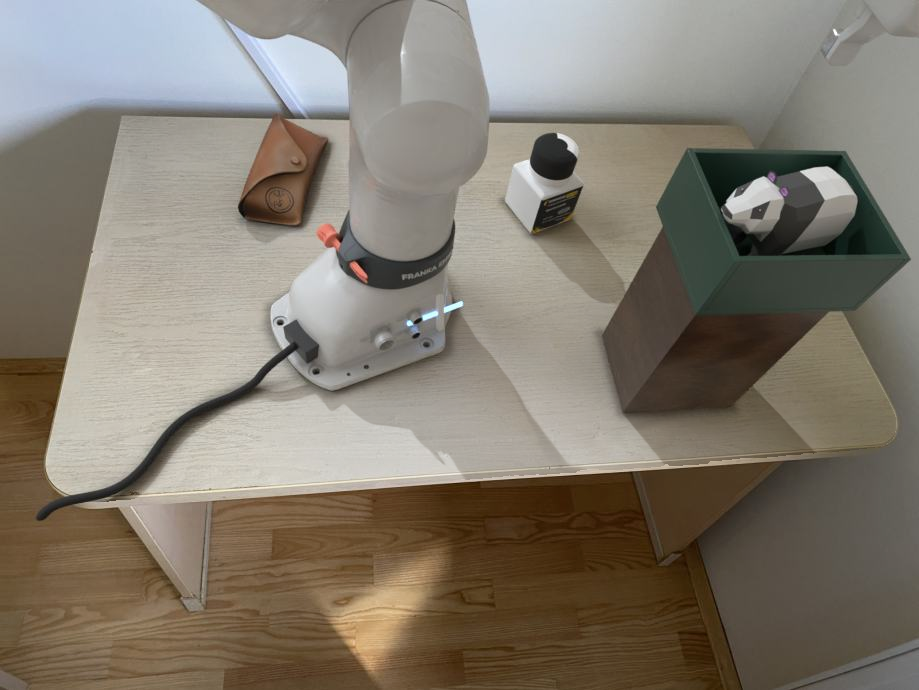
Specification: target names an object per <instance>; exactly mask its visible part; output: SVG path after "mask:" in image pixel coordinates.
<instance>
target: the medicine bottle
mask: <svg viewBox="0 0 919 690" xmlns="http://www.w3.org/2000/svg"><path fill="white" fill-rule="evenodd" d="M580 155H581V152H580V148H579V146H578V144H577V143H576V142H575V140H573V139H572V138H571V137H570V136H567V135H565V134H563V133H559V132H547V133H544V134H542V135H540V136H538V137H537V138H536V139H535V141H534V143H533V145H532V150H531V153H530V158H529V159H526V160H522V161H519V162H516V163H514V164H513V167H512V170H511V174H510V178H509V182H508V186H507V189H506V193H505V198H504V202H505V204H506V205H507V206H508V207H509V209H510V210H511V211H512V212H513V214H514V215H515V216H516V218H517V219H518V220H519V221H520V222H521V224H522V225H523V226H524V228H525V229H526V230H527V231H528V233H529V234H531V235H534V234H536V233H539V232H541V231H544V230H547V229H549V228H552V227H554V226H555V227H556V226H557V225H560V224H562V223H565V222H568V221H570V220H571V219H572V217H573V215H574V212H575V209H576V206H577V205H578V201H579V199H580V196H581V194H582V192H583V188H584V186H585V183H584V181H582V179H581V178H580V177H579V176H578V174H576V172H575V169H576V167H577V164H578V161H579V158H580Z"/></svg>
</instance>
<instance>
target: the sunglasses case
mask: <svg viewBox="0 0 919 690" xmlns="http://www.w3.org/2000/svg"><path fill="white" fill-rule="evenodd" d="M328 142H329V138H328V137H326V136H320V135H318V134H316V133H313V131H311V130H308V129H306V128H304V127H302V126H300V125H298V124H297V123H294V122H292V121H290V120H288V119H286V118H284V117H282V116H281V114H280V113H278V112H277V113H275V114H274V115H273V116H272V118H271V121H270V124H269V125H268V128H267V130H266V131H265V133H264V136H263V138H262V140H261V143H260V145H259V148H258V150H257V153H256V156H255V158H254V160H253V163H252V165H251V168H250V170H249V173H248V175H247V178H246V180H245V183H244V186H243V189H242V191H241V195H240V198H239V201H238V204H237V210H238V213H239V214H240V216H242V217H243V218H244V219H246V220H248V221H253V222H257V223H262V224H268V225H269V224H270V225H277V226H287V227H297V226H299V225H301V224H302V221H303V217H304V210H305V204H306V199H307V196H308V194H309V193H308V192H309V190H310V188H311V184H312V181H313V178H314V175H315V171H316V169H317V166H318V164H319V161H320V158H321V157H322V155H323V153H324V150H325V149H326V146H327V144H328Z"/></svg>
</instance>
